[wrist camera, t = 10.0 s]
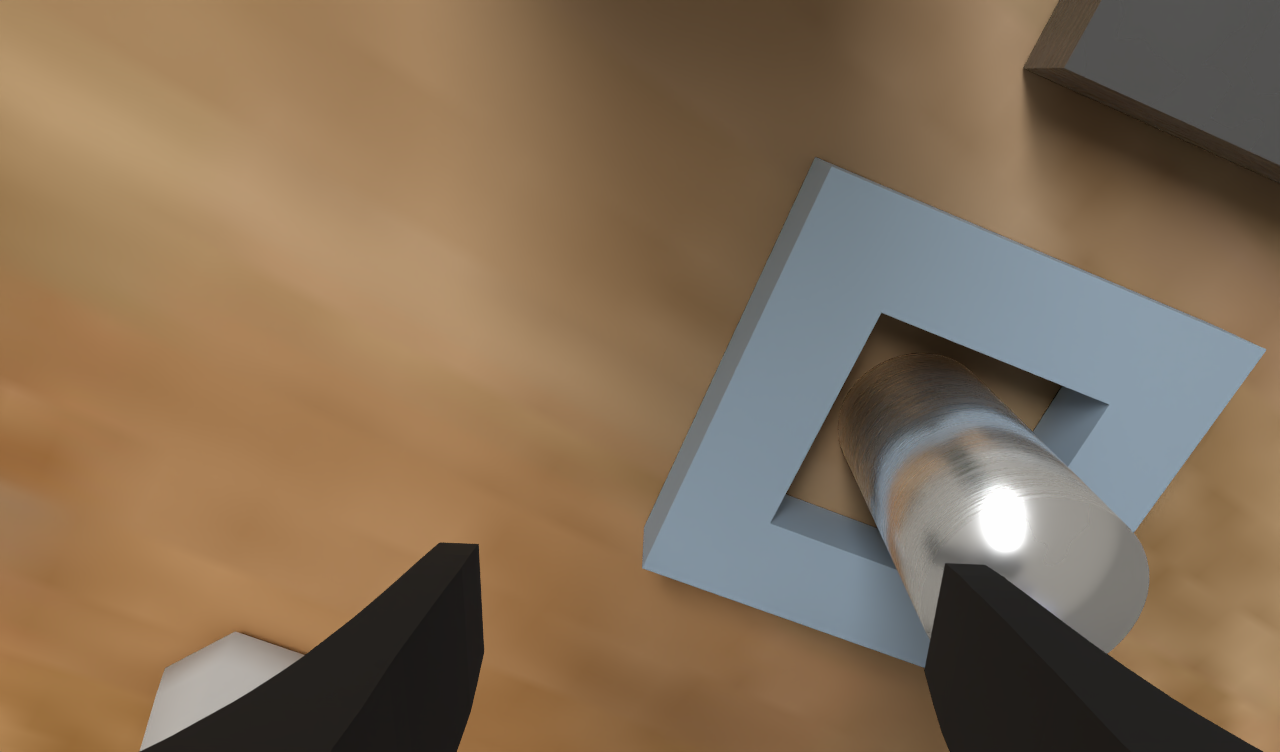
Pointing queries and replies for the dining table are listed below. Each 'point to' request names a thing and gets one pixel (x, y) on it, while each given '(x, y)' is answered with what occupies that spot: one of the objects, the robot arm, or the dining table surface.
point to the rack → (951, 308)
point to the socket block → (1176, 69)
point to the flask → (212, 682)
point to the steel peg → (985, 498)
